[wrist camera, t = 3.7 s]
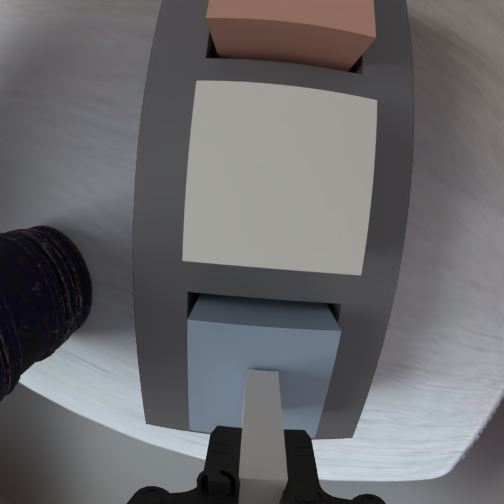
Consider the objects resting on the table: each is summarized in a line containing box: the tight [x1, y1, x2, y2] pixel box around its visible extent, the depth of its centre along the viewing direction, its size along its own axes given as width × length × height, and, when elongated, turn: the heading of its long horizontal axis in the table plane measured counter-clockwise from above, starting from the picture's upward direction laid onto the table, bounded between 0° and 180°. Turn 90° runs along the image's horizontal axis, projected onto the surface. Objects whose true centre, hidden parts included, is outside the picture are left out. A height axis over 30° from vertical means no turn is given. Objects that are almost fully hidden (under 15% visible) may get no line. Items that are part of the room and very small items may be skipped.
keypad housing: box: [133, 0, 414, 440], centre depth 18 cm, size 14×32×6 cm, turn 175°
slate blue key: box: [187, 293, 341, 438], centre depth 17 cm, size 7×7×5 cm
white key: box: [182, 81, 377, 275], centre depth 14 cm, size 7×7×5 cm
